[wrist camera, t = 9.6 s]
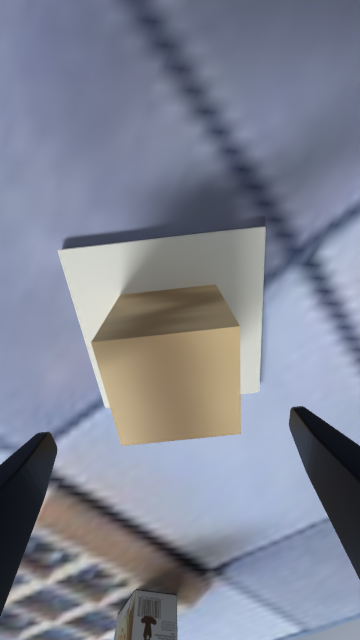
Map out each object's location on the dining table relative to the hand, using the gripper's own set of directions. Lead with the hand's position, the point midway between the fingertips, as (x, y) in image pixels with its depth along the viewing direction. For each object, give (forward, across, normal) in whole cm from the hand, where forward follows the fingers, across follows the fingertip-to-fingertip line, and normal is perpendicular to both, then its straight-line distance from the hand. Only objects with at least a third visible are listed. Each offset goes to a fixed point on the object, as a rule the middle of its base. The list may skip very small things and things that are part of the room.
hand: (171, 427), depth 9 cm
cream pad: (+9, 0, 0) cm, 9 cm away
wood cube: (+8, 0, 0) cm, 8 cm away
